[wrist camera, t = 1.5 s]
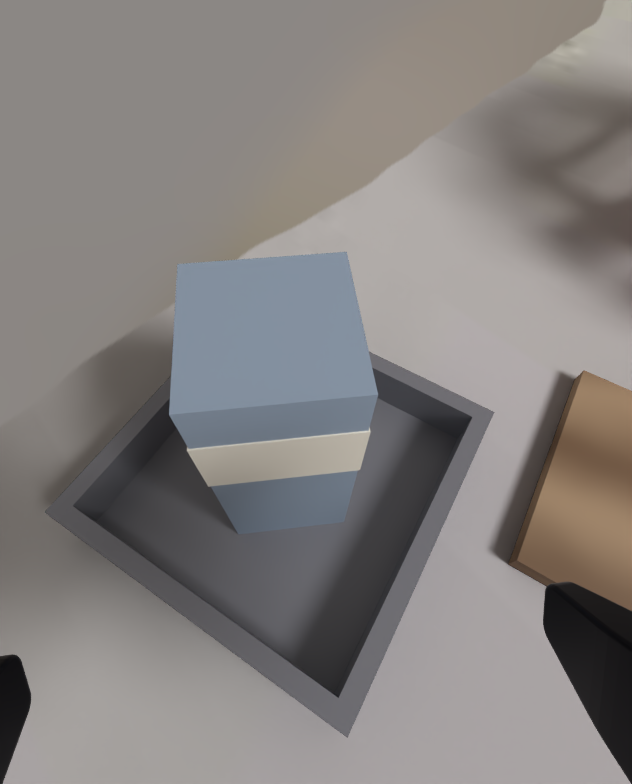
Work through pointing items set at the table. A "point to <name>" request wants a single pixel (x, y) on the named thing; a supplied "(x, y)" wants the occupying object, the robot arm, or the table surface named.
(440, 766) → the table surface
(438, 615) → the table surface
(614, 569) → the pad
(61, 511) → the tray
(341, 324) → the carton
